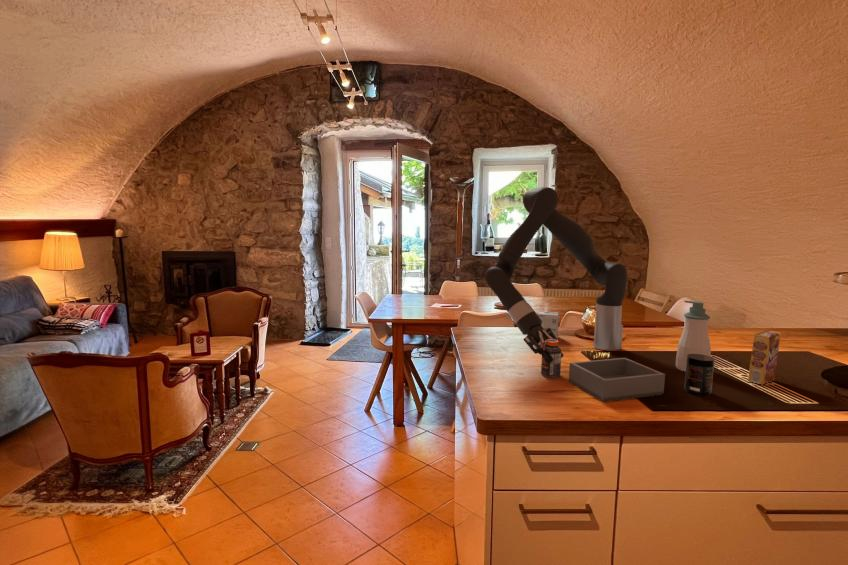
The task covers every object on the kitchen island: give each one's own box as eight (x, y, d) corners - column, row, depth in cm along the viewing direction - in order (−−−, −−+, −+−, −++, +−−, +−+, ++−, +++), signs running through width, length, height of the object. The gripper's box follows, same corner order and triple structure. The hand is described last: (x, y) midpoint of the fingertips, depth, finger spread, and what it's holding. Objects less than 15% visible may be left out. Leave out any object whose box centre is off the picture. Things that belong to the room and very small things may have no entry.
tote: (623, 375, 141) (625, 357, 140) (663, 394, 126) (665, 374, 125) (568, 381, 136) (569, 362, 135) (603, 401, 121) (604, 380, 120)
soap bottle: (680, 363, 154) (685, 298, 151) (713, 370, 147) (719, 302, 144) (671, 370, 147) (676, 302, 144) (705, 377, 140) (711, 306, 137)
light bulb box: (558, 336, 190) (559, 312, 188) (557, 340, 183) (558, 315, 182) (532, 334, 193) (533, 310, 192) (531, 338, 187) (532, 313, 185)
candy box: (763, 386, 133) (769, 336, 131) (747, 382, 137) (752, 333, 134) (775, 380, 138) (781, 332, 136) (759, 376, 141) (764, 329, 139)
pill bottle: (538, 371, 145) (539, 337, 143) (556, 371, 145) (557, 337, 144) (544, 378, 139) (546, 342, 137) (563, 377, 139) (564, 342, 138)
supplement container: (712, 391, 128) (716, 356, 127) (709, 398, 123) (713, 362, 122) (686, 386, 133) (689, 352, 131) (681, 392, 128) (684, 357, 126)
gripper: (520, 313, 139) (553, 358, 133) (543, 307, 150) (575, 349, 143) (505, 327, 144) (536, 371, 137) (528, 320, 154) (559, 361, 147)
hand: (556, 359), depth 140 cm, fingers closed on pill bottle, 6 cm apart
